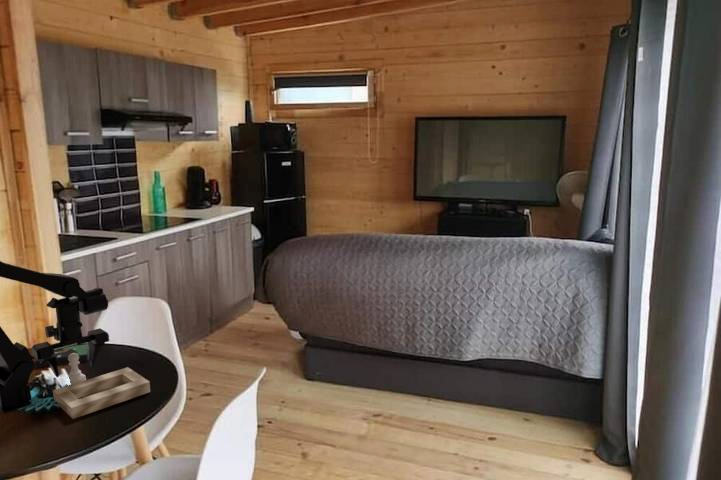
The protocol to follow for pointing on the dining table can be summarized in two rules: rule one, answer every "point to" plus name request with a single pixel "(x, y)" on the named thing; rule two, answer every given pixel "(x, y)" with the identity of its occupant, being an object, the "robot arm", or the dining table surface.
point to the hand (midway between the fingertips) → (74, 371)
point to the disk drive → (64, 353)
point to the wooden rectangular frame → (92, 403)
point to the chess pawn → (75, 369)
